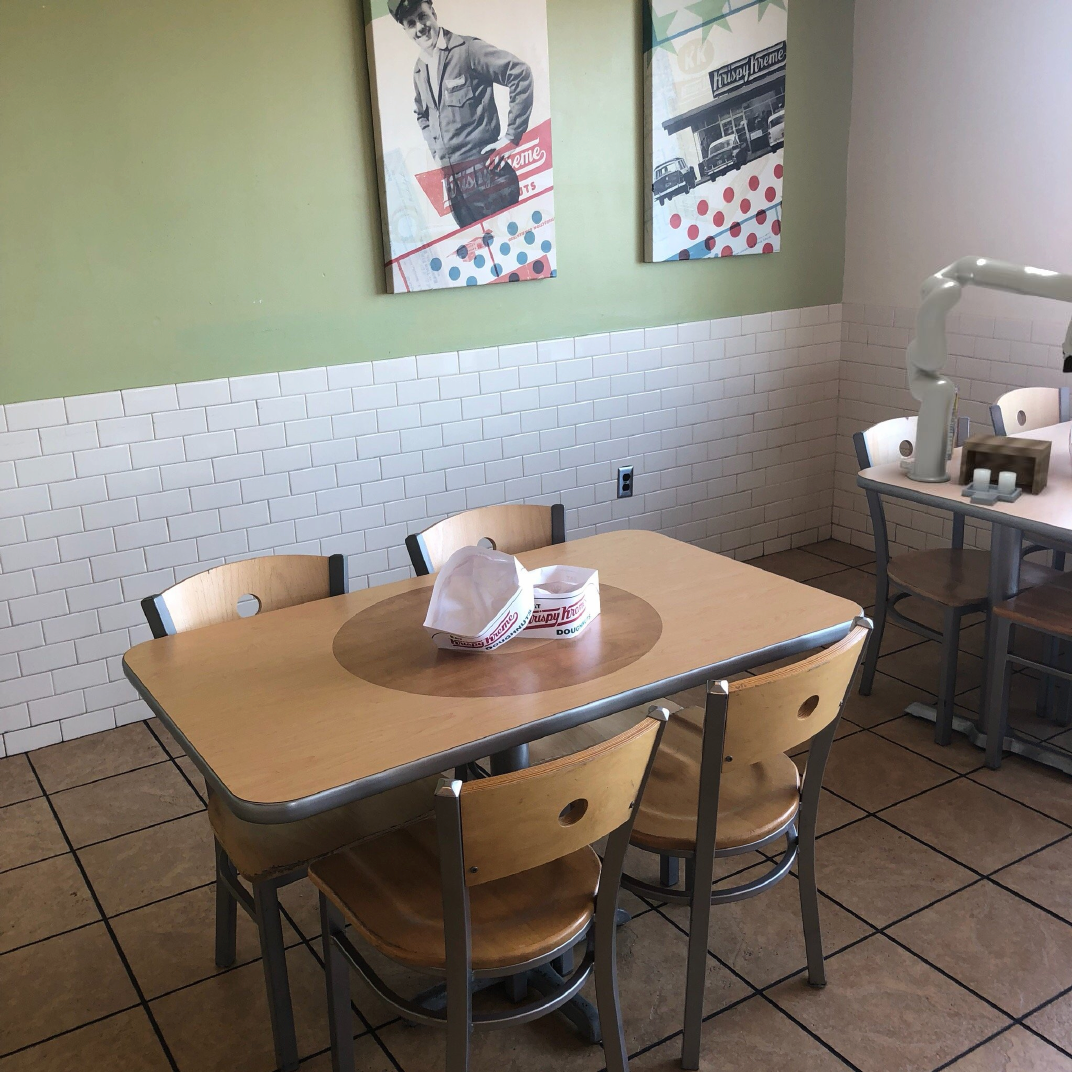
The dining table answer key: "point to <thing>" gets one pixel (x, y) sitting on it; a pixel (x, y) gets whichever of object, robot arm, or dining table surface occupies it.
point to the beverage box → (953, 426)
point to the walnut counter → (1006, 459)
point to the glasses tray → (992, 488)
